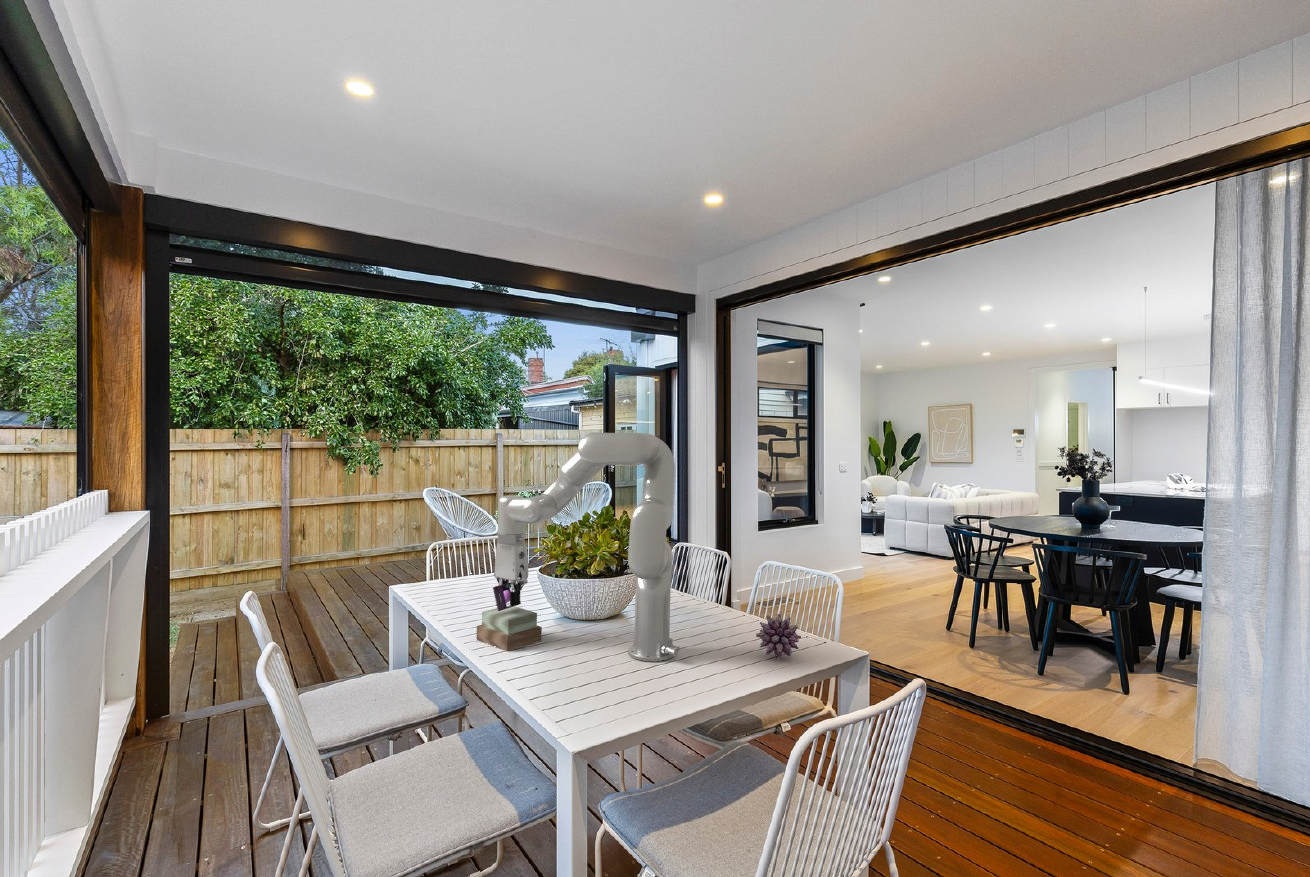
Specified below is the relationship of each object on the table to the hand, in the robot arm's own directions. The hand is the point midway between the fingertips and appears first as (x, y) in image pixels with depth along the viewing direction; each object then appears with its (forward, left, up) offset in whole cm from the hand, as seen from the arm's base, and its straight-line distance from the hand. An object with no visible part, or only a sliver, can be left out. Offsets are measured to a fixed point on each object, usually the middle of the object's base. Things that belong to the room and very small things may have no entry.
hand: (509, 602), depth 180 cm
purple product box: (0, +2, -1) cm, 2 cm away
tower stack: (0, 0, -11) cm, 11 cm away
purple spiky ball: (-64, -40, -11) cm, 76 cm away
